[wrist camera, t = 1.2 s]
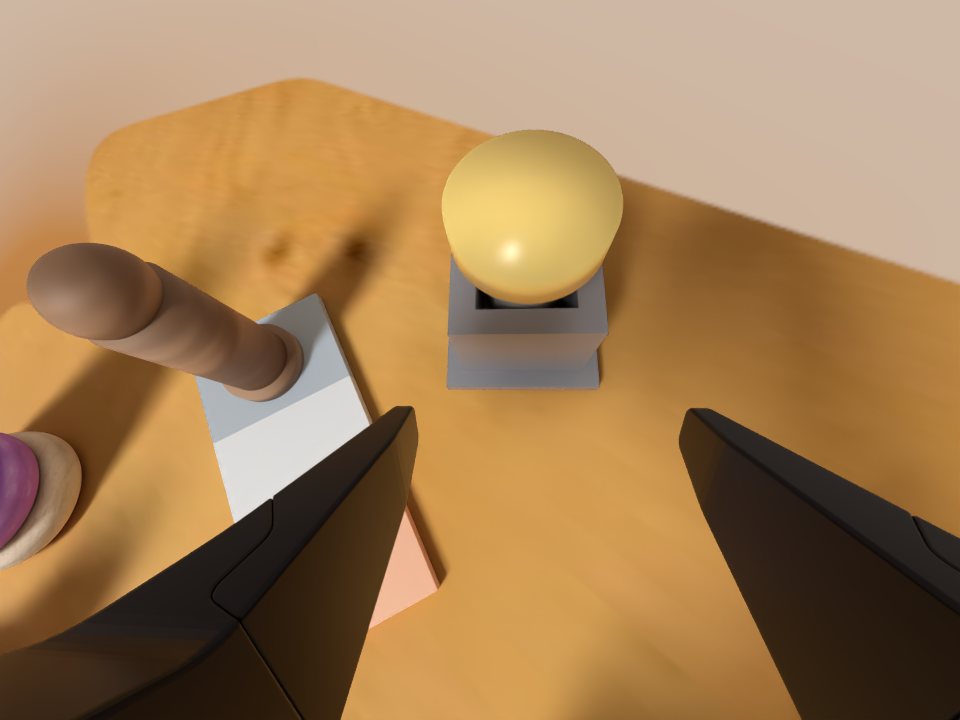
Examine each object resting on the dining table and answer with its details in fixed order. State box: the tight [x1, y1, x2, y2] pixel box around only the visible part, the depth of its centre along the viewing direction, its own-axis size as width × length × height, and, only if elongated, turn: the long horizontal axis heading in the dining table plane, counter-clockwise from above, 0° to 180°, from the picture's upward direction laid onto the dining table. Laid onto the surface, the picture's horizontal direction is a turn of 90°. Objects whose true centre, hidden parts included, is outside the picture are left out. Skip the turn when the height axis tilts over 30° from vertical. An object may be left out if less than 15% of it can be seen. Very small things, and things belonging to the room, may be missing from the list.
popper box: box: [447, 252, 609, 390], centre depth 20 cm, size 9×9×7 cm
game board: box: [195, 293, 440, 629], centre depth 22 cm, size 20×9×1 cm, turn 27°
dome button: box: [442, 130, 623, 309], centre depth 17 cm, size 6×6×7 cm
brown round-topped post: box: [27, 243, 304, 402], centre depth 18 cm, size 5×5×12 cm
